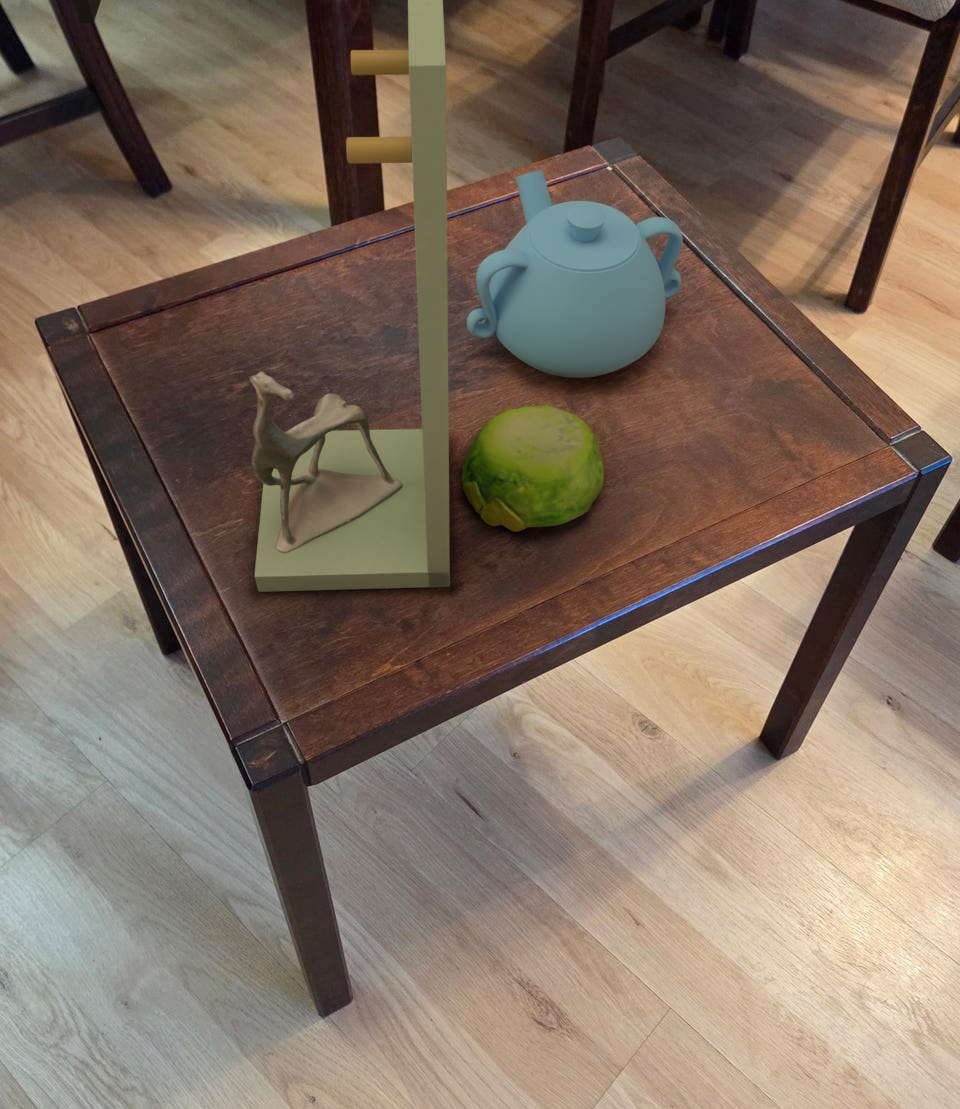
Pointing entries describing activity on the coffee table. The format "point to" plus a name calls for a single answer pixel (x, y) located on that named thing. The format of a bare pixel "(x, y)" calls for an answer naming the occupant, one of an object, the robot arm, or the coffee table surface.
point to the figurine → (313, 467)
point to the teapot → (576, 285)
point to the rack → (420, 454)
